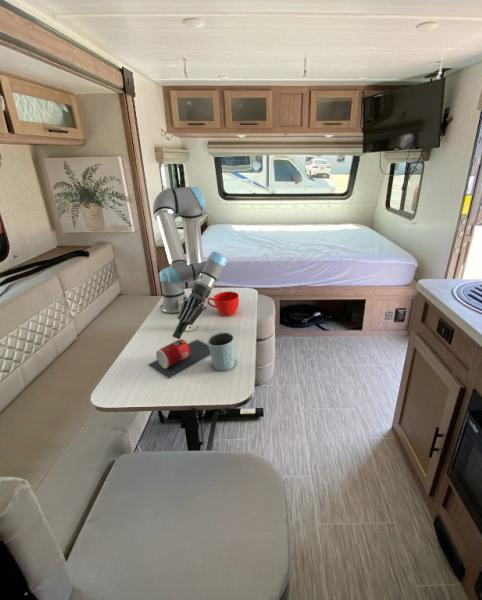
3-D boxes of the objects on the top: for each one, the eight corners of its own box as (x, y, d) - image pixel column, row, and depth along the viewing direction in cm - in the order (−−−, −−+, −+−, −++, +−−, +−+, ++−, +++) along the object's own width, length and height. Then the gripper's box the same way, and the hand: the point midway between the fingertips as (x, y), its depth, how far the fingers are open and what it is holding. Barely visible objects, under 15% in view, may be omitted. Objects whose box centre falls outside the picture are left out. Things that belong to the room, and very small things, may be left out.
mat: (196, 340, 147) (196, 339, 147) (217, 350, 139) (217, 349, 139) (149, 365, 131) (149, 364, 131) (168, 377, 122) (168, 377, 122)
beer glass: (189, 323, 163) (185, 296, 157) (199, 326, 160) (195, 298, 154) (179, 329, 158) (174, 301, 152) (190, 332, 155) (185, 304, 149)
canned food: (185, 337, 131) (161, 349, 123) (193, 355, 132) (169, 368, 124) (176, 339, 136) (153, 350, 128) (183, 356, 137) (161, 369, 129)
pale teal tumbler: (241, 361, 130) (238, 335, 126) (225, 375, 122) (222, 348, 118) (221, 355, 135) (218, 330, 130) (205, 368, 127) (201, 341, 123)
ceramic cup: (212, 308, 180) (210, 291, 176) (242, 308, 178) (240, 291, 174) (205, 318, 168) (203, 301, 164) (237, 318, 166) (235, 301, 162)
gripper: (187, 279, 135) (159, 330, 130) (207, 285, 127) (178, 339, 122) (199, 287, 141) (172, 336, 136) (219, 293, 133) (191, 345, 128)
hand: (175, 337), depth 129 cm, fingers closed
